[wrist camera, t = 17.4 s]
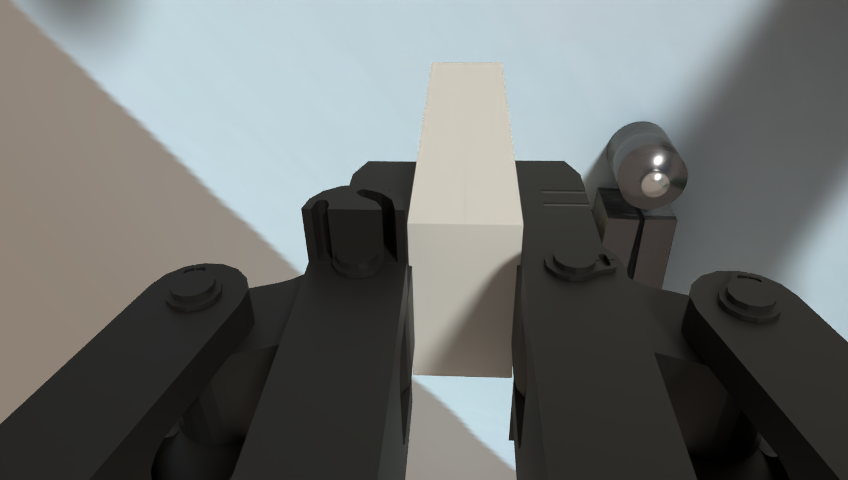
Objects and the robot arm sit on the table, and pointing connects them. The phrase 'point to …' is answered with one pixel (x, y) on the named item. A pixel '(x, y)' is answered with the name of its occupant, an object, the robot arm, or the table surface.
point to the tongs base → (648, 194)
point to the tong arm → (615, 223)
